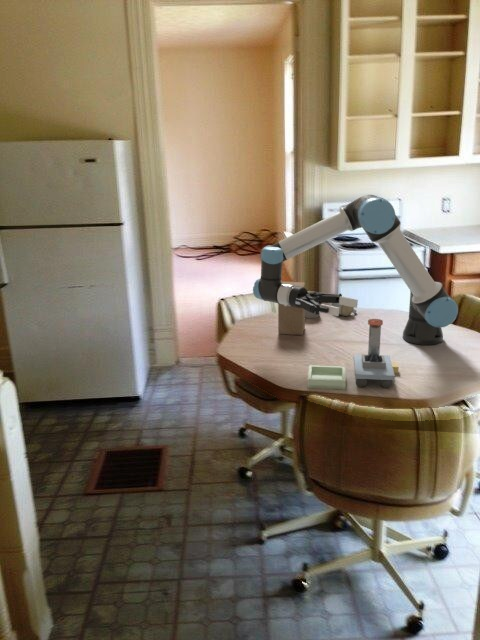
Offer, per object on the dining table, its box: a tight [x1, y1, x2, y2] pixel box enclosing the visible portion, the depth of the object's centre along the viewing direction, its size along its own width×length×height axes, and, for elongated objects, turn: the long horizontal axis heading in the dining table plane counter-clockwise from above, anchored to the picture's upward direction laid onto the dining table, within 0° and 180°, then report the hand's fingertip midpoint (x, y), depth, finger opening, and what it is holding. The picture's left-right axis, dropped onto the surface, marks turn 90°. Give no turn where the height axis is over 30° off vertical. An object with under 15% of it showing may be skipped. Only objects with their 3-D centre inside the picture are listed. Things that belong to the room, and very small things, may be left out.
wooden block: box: [277, 281, 306, 336], centre depth 234 cm, size 10×10×20 cm
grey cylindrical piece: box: [305, 290, 321, 319], centre depth 258 cm, size 13×10×10 cm
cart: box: [353, 353, 399, 389], centre depth 186 cm, size 15×18×7 cm
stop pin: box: [367, 318, 384, 362], centre depth 184 cm, size 5×5×15 cm
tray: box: [307, 364, 347, 391], centre depth 186 cm, size 12×12×3 cm
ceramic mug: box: [330, 303, 357, 317], centre depth 258 cm, size 11×8×8 cm
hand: (348, 307), depth 187 cm, fingers open, 13 cm apart
